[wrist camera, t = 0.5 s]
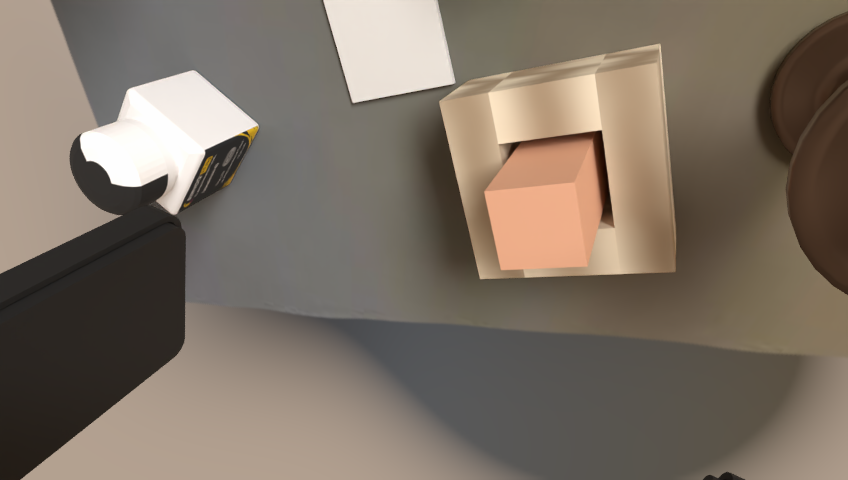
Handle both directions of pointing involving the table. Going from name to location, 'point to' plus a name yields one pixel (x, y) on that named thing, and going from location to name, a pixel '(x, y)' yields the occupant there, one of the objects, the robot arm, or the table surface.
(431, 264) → the table surface
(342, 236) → the table surface
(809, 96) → the candlestick
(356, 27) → the mat
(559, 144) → the plug
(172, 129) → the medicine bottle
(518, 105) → the beige square frame
